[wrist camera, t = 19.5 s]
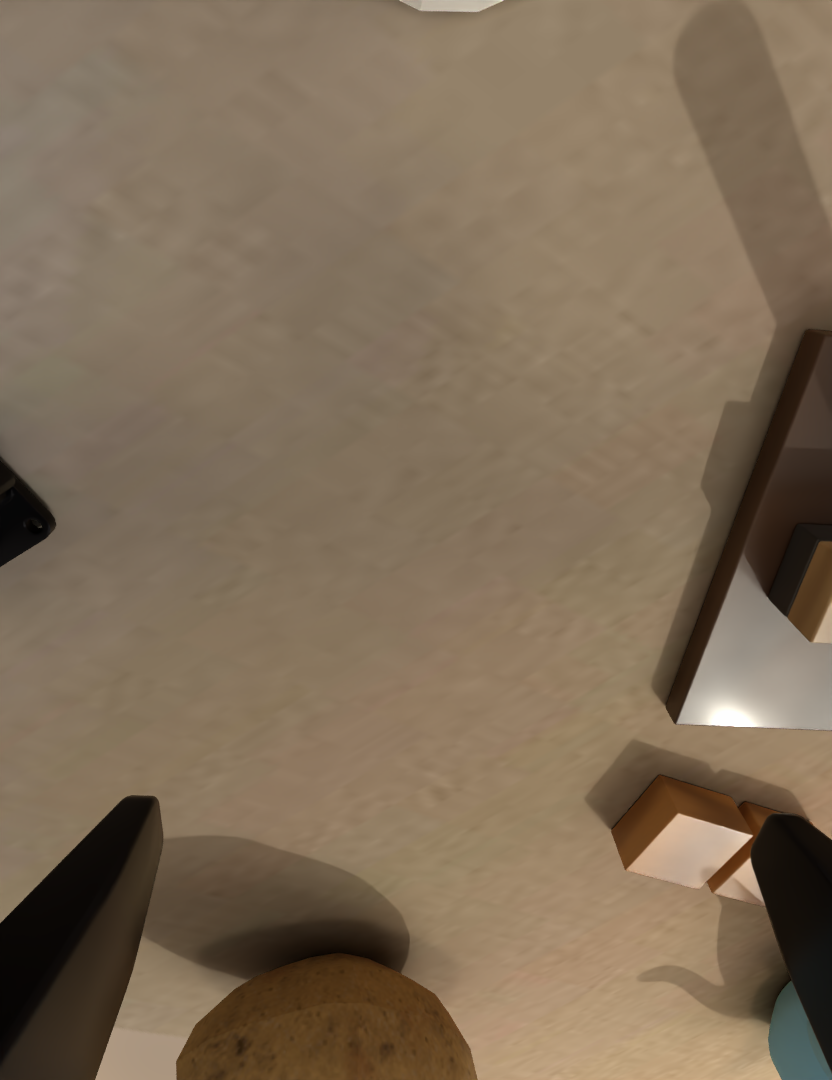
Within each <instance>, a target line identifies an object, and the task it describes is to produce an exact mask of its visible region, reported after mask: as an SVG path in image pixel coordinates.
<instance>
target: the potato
mask: <svg viewBox="0 0 832 1080" xmlns="http://www.w3.org/2000/svg"><path fill="white" fill-rule="evenodd" d="M176 1069H177V1070H176V1071H177V1080H477V1075H476V1071H475V1067H474V1063H473V1059H472V1054H471V1050H470V1048H469V1046H468V1044H467V1043H466V1041H465V1039H464V1038H463V1036H462V1034H461V1033H460V1031H459V1029H458V1028H457V1026H456V1024H455V1023H454V1021H453V1019H452V1018H451V1016H450V1014H449V1013H448V1011H447V1010H446V1009H445V1007H444V1006H443V1005H442V1003H441V1002H440V1000H439V999H438V998H437V996H436V995H435V994H434V993H432V992H431V991H429V990H427V989H426V988H424V987H423V986H421V985H419V984H418V983H416V982H415V981H413V980H411V979H409V978H408V977H406V976H404V975H402V974H400V973H398V972H396V971H395V970H393V969H391V968H389V967H386V966H384V965H382V964H379V963H377V962H375V961H372V960H370V959H368V958H364V957H359V956H354V955H349V954H344V953H334V954H328V955H322V956H316V957H311V958H307V959H304V960H301V961H298V962H295V963H291V964H288V965H285V966H282V967H279V968H277V969H274V970H272V971H269V972H266V973H264V974H261V975H258V976H256V977H254V978H253V979H251V980H249V981H248V982H246V983H244V984H243V985H241V986H239V987H238V988H236V989H234V990H233V991H232V992H231V993H230V994H229V995H228V996H227V997H226V998H224V999H223V1000H222V1001H221V1002H220V1003H219V1004H218V1005H217V1006H216V1007H215V1008H213V1009H212V1010H211V1011H210V1012H209V1013H208V1014H207V1015H206V1016H205V1017H204V1018H202V1019H201V1020H200V1021H199V1022H198V1023H197V1024H196V1025H195V1027H194V1029H193V1031H192V1033H191V1035H190V1036H189V1038H188V1040H187V1042H186V1044H185V1046H184V1048H183V1050H182V1052H181V1053H180V1055H179V1057H178V1059H177V1061H176Z"/></svg>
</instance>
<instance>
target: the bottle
mask: <svg viewBox="0 0 832 1080" xmlns="http://www.w3.org/2000/svg"><path fill="white" fill-rule="evenodd" d="M399 1H401V2H403V3H405V4H407V5H409V6H411V7H413V8H415V9H417V10H419V11H450V12H479V11H481V10H483V9H486V8H488V7H490V6H493V5H495V4H497V3H499V2H502V1H504V0H399Z"/></svg>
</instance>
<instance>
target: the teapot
mask: <svg viewBox="0 0 832 1080" xmlns="http://www.w3.org/2000/svg"><path fill="white" fill-rule="evenodd" d="M768 1042H769V1050H770V1056H771V1058H772V1061H773V1063H774V1065H775V1067H776V1069H777V1071H778V1073H779V1075H780V1077H781V1079H782V1080H832V1073H831V1071H830V1068H829V1066H828V1064H827V1061H826V1059H825V1057H824V1054H823V1052H822V1050H821V1048H820V1045H819V1043H818V1041H817V1038H816V1036H815V1034H814V1032H813V1029H812V1027H811V1025H810V1022H809V1020H808V1018H807V1015H806V1013H805V1011H804V1009H803V1006H802V1004H801V1002H800V999H799V997H798V995H797V993H796V990H795V988H794V985H793V983H792V980H791V981H790V982H789V983H788V984H787V985H786V986H785V987H784V988H783V990H782V991H781V993H780V994H779V996H778V997H777V1000H776V1002H775V1006H774V1010H773V1013H772V1019H771V1024H770V1029H769V1037H768Z"/></svg>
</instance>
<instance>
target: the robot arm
mask: <svg viewBox="0 0 832 1080" xmlns="http://www.w3.org/2000/svg"><path fill="white" fill-rule="evenodd" d="M31 519H32V520H36V521H38V522H39V523H40V524H41V526H42V528H38V527H36V526H35V525H33V523H32V521H31ZM55 526H56V522H55V519H54V517H53V516H52V514H51V513H50V512H49V511H48V510H47V509H46V508H45V507H44V506H43V505H42V504H41V503H40V502H39V501H38V500H37V499H36V498H35V497H34V496H33V495H32V494H31V493H30V492H29V491H28V490H27V489H26V488H25V487H24V485H23V484H22V483H21V482H20V481H19V480H18V479H17V478H16V477H15V476H14V474H13V473H12V472H11V471H10V470H9V469H8V468H7V467H6V466H5V465H4V464H3V463H2V462H1V461H0V567H1V566H2V565H4V564H6V563H7V562H9V561H10V560H12V559H14V558H15V557H17V556H18V555H20V554H22V553H23V552H25V551H26V550H28V549H30V548H31V547H33V546H34V545H36V544H38V543H39V542H41V541H42V540H44V539H46V538H47V537H48V536H49V535H50V534H51V532H52V531H53V530H54V529H55ZM162 846H163V828H162V821H161V813H160V806H159V801H158V799H157V798H156V797H155V796H139V795H131V796H127V797H125V798H124V799H123V800H121V801H120V802H119V803H118V804H117V805H116V806H115V807H114V808H113V810H112V811H111V812H110V813H109V814H108V815H107V816H106V817H105V818H104V819H103V820H102V821H101V822H100V823H99V824H98V825H97V826H96V827H95V828H94V829H93V830H92V831H91V832H90V833H89V834H88V835H87V836H86V837H85V838H84V839H83V840H82V841H81V842H80V843H79V844H78V845H77V846H76V847H75V848H74V849H73V850H72V851H71V852H70V853H69V854H68V855H67V856H66V857H65V858H64V859H63V860H62V861H61V862H60V863H59V864H58V865H57V866H56V867H55V868H54V869H53V870H52V871H51V872H50V873H49V874H48V875H47V876H46V877H45V878H44V879H43V880H42V882H41V883H40V884H39V885H38V886H37V887H36V888H35V889H34V890H33V891H32V892H31V893H30V894H29V895H28V896H27V897H26V898H25V899H24V900H23V901H22V902H21V903H20V904H19V905H18V906H17V907H16V908H15V909H14V910H13V911H12V912H11V913H10V914H9V915H8V916H7V917H6V918H5V919H4V920H3V921H2V922H1V923H0V1080H95V1078H96V1075H97V1072H98V1069H99V1066H100V1064H101V1061H102V1058H103V1055H104V1052H105V1050H106V1047H107V1044H108V1041H109V1038H110V1035H111V1032H112V1030H113V1027H114V1024H115V1021H116V1018H117V1015H118V1012H119V1010H120V1007H121V1004H122V1001H123V998H124V995H125V992H126V990H127V986H128V983H129V980H130V977H131V974H132V971H133V967H134V964H135V960H136V956H137V952H138V948H139V944H140V940H141V936H142V931H143V927H144V923H145V919H146V915H147V911H148V906H149V902H150V898H151V894H152V890H153V886H154V881H155V877H156V873H157V869H158V865H159V861H160V856H161V852H162ZM750 859H751V864H752V868H753V871H754V874H755V877H756V880H757V882H758V885H759V888H760V891H761V894H762V897H763V900H764V903H765V906H766V909H767V912H768V915H769V918H770V921H771V924H772V927H773V930H774V933H775V936H776V939H777V942H778V945H779V948H780V951H781V954H782V957H783V960H784V962H785V965H786V968H787V971H788V973H789V976H790V978H791V980H792V983H793V985H794V988H795V990H796V993H797V995H798V997H799V999H800V1002H801V1004H802V1006H803V1009H804V1011H805V1013H806V1015H807V1018H808V1020H809V1022H810V1025H811V1027H812V1029H813V1032H814V1034H815V1036H816V1038H817V1041H818V1043H819V1045H820V1048H821V1050H822V1052H823V1054H824V1057H825V1059H826V1061H827V1064H828V1066H829V1068H830V1071H831V1073H832V840H831V839H830V838H828V837H827V836H826V835H825V834H823V833H822V832H821V831H820V830H818V829H817V828H816V827H815V826H813V825H812V824H811V823H809V822H808V821H807V820H806V819H804V818H803V817H801V816H799V815H796V814H785V813H773V814H771V815H769V816H768V817H767V818H766V819H765V821H764V823H763V825H762V827H761V829H760V831H759V833H758V835H757V837H756V838H755V840H754V842H753V844H752V846H751V851H750Z"/></svg>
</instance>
